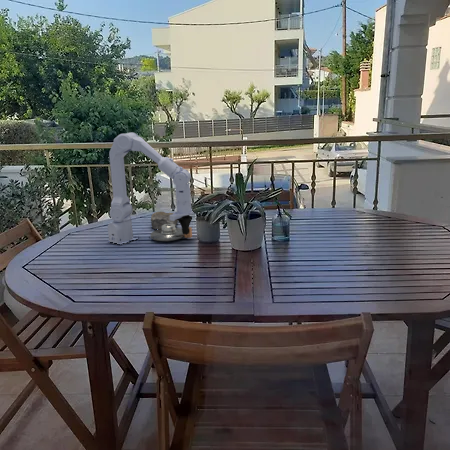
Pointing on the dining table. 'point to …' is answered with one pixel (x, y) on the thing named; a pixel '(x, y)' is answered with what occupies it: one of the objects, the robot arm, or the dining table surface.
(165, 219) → the rock
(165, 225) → the cover
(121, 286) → the dining table surface
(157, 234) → the turntable
